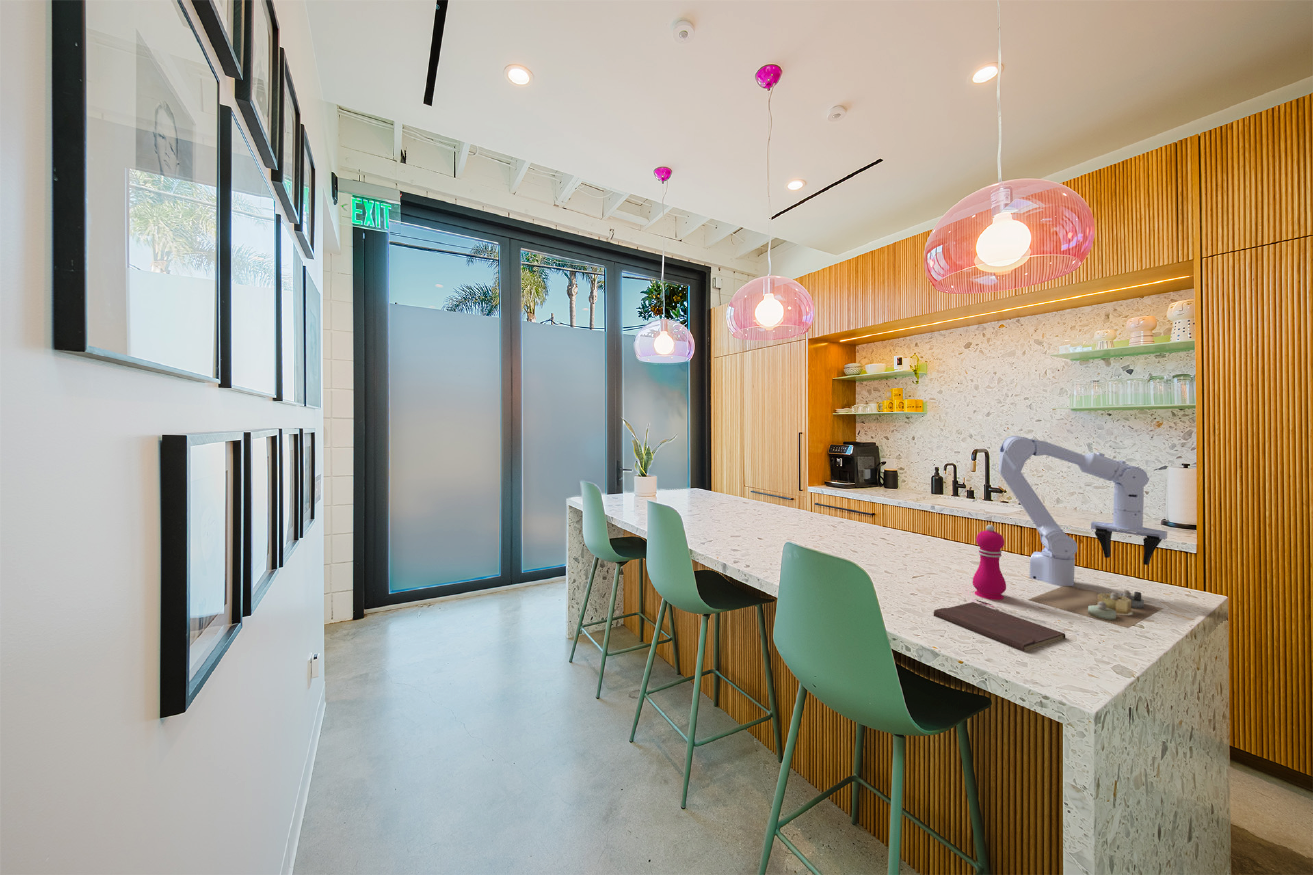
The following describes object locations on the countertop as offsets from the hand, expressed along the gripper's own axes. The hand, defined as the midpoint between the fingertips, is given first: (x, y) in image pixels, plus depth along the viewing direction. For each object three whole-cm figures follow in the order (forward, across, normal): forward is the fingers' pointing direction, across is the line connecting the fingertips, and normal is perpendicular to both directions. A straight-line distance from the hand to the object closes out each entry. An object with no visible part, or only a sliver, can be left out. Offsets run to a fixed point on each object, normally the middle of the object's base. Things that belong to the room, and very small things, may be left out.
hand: (1126, 560), depth 129 cm
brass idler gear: (+8, +3, -21) cm, 22 cm away
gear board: (+9, -1, -20) cm, 22 cm away
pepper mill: (+10, -18, -35) cm, 40 cm away
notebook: (+10, -10, -51) cm, 53 cm away
